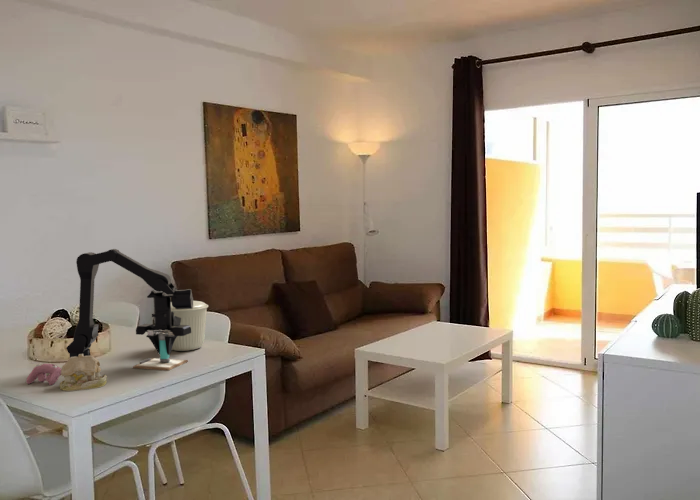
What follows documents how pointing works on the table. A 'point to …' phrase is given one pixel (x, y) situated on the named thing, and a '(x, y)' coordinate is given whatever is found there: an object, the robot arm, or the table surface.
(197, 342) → the canister
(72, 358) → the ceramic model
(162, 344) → the marker
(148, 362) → the clipboard
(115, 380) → the table surface
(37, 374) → the pink lumpy arch
